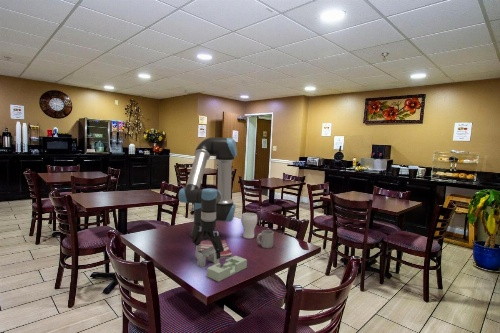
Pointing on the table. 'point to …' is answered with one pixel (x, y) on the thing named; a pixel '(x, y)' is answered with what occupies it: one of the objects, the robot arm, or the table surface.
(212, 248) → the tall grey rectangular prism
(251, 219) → the cup
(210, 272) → the rail
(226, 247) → the dish towel
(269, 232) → the cup
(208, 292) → the table surface
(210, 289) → the table surface
